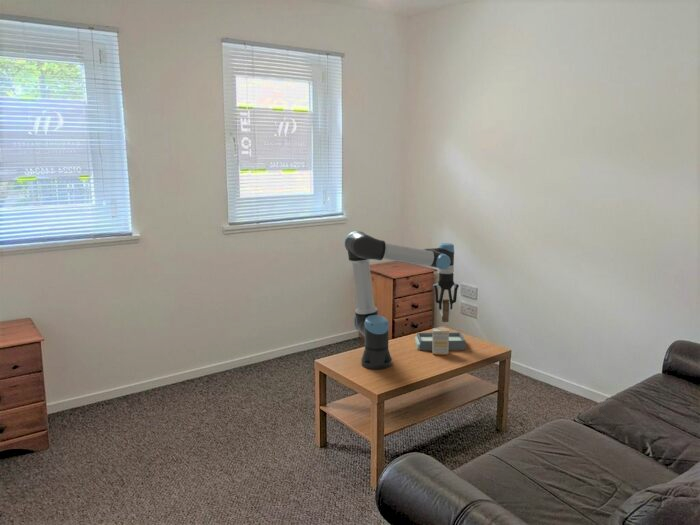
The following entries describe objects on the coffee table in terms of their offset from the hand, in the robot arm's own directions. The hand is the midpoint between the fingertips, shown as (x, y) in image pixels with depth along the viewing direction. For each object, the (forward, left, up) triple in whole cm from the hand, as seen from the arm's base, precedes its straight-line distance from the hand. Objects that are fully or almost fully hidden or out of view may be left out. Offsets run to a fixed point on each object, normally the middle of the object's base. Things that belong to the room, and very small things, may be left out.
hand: (445, 315), depth 295 cm
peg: (0, 0, -3) cm, 3 cm away
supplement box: (-4, -12, -17) cm, 21 cm away
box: (-2, 0, -17) cm, 17 cm away
